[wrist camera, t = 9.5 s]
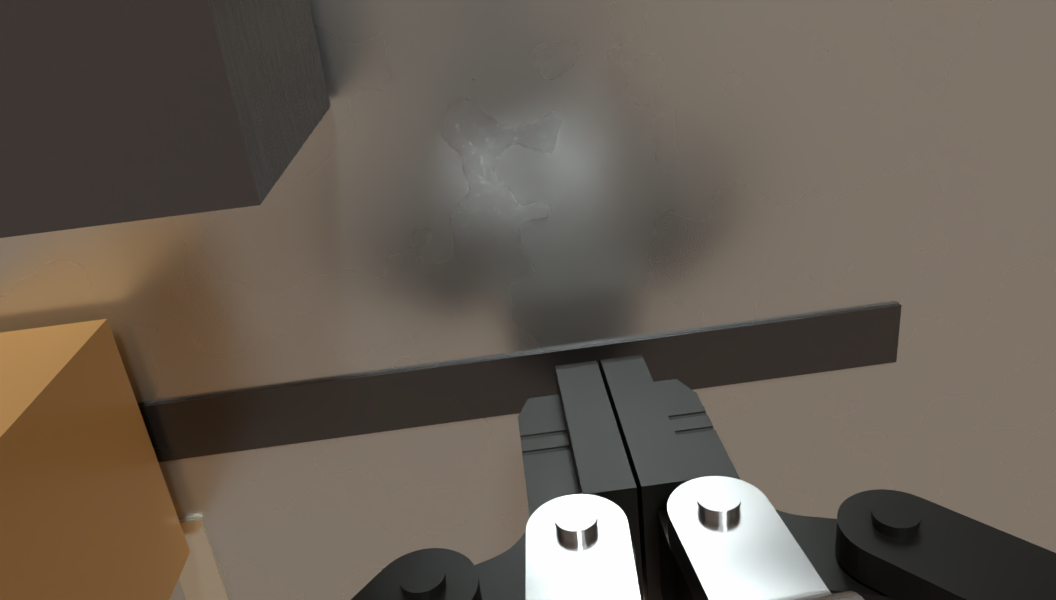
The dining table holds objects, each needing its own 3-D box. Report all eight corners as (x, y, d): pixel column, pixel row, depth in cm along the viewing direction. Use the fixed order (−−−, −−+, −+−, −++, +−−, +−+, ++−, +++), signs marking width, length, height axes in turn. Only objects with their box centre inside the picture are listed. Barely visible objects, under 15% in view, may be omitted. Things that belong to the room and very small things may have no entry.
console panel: (1298, -566, 12) (2351, -1185, 5) (1070, 514, 20) (1374, 801, 14) (-817, -347, 11) (-2721, -761, 4) (-156, 688, 20) (-479, 1088, 13)
